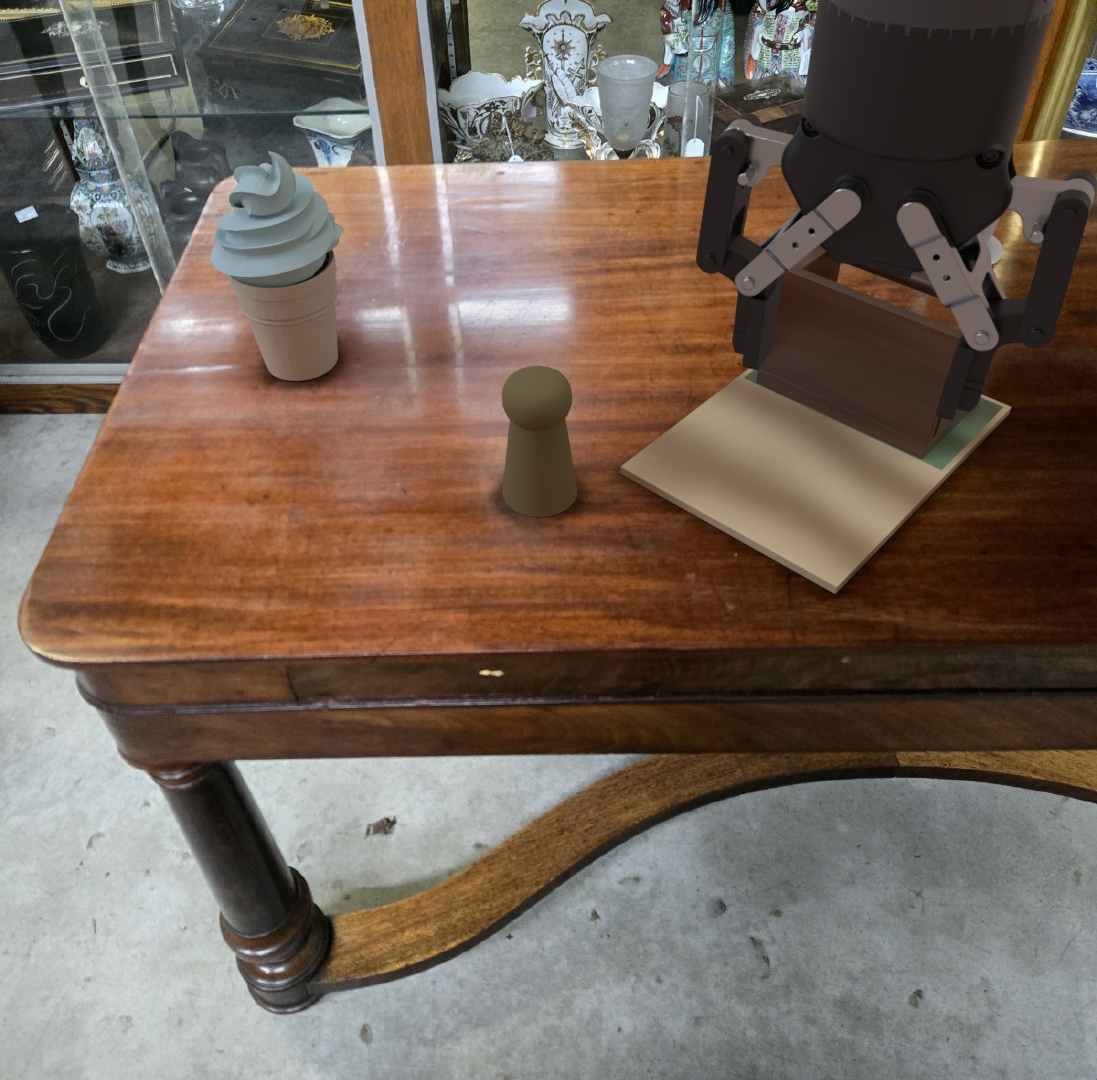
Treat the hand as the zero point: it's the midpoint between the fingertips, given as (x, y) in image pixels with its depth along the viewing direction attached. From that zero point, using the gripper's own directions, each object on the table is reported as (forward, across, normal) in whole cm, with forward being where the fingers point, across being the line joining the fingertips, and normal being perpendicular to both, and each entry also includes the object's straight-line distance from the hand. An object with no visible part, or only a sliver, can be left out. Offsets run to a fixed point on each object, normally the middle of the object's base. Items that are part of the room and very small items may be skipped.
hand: (849, 383), depth 46 cm
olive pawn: (+28, +24, -15) cm, 40 cm away
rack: (+27, +4, -38) cm, 47 cm away
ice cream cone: (+28, +52, -21) cm, 63 cm away
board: (+28, +6, -31) cm, 42 cm away
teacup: (+28, +3, -68) cm, 74 cm away
